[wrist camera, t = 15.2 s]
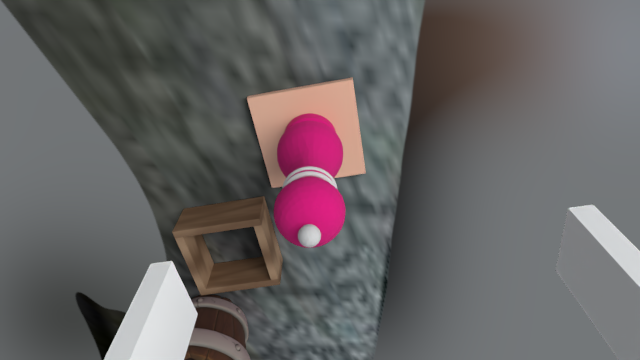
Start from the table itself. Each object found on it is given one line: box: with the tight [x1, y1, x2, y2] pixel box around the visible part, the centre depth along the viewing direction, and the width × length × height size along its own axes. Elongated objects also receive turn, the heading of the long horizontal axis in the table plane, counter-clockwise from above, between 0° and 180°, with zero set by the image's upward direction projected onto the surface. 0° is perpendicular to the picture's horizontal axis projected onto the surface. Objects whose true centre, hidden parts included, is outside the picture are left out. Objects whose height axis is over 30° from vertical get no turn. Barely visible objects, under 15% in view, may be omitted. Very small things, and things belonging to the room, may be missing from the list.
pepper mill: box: [274, 113, 345, 248], centre depth 39 cm, size 7×7×20 cm
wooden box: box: [172, 196, 283, 295], centre depth 54 cm, size 11×11×5 cm
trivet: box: [247, 78, 366, 188], centre depth 48 cm, size 12×12×1 cm
